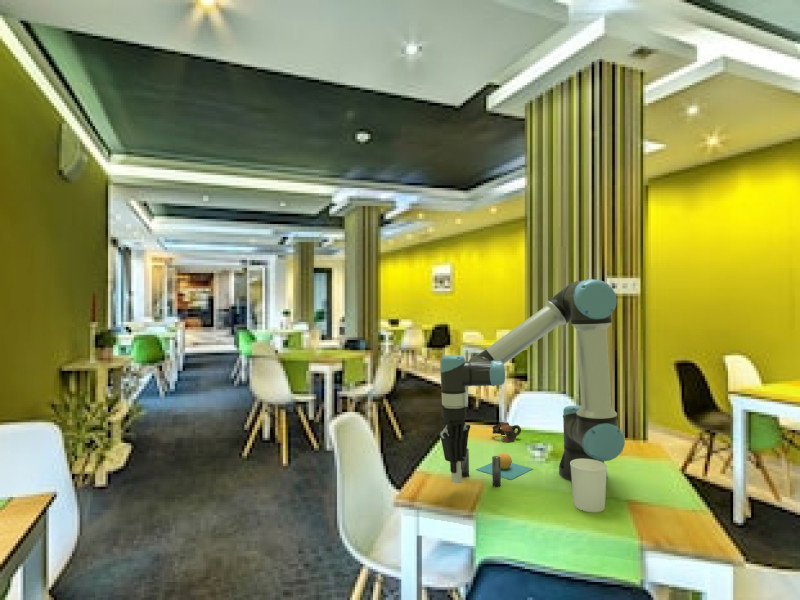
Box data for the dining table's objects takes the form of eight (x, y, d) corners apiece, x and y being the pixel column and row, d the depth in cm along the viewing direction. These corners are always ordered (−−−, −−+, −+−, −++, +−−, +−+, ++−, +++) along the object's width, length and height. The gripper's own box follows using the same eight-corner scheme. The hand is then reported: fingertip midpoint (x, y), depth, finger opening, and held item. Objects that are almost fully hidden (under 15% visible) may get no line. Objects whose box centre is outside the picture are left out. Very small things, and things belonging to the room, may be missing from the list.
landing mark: (533, 469, 167) (533, 468, 167) (510, 480, 157) (510, 479, 157) (499, 460, 177) (499, 459, 177) (476, 469, 167) (476, 469, 167)
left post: (470, 475, 162) (470, 449, 162) (465, 477, 160) (465, 450, 160) (464, 473, 163) (464, 447, 164) (459, 475, 162) (459, 449, 162)
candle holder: (566, 499, 141) (565, 458, 141) (599, 499, 141) (599, 458, 141) (577, 514, 132) (576, 470, 132) (613, 513, 131) (612, 470, 131)
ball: (512, 451, 166) (504, 462, 163) (516, 463, 168) (509, 474, 165) (498, 447, 170) (491, 458, 167) (502, 459, 172) (495, 470, 169)
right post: (502, 485, 153) (502, 457, 153) (497, 487, 151) (497, 459, 151) (495, 483, 154) (495, 455, 154) (491, 485, 153) (490, 457, 153)
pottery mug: (497, 444, 197) (490, 425, 201) (496, 448, 206) (489, 429, 210) (525, 436, 197) (518, 417, 201) (523, 441, 206) (516, 422, 210)
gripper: (457, 400, 155) (460, 473, 155) (430, 407, 146) (433, 485, 146) (476, 403, 150) (479, 479, 150) (449, 411, 141) (452, 491, 141)
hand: (456, 482), depth 148 cm, fingers closed
